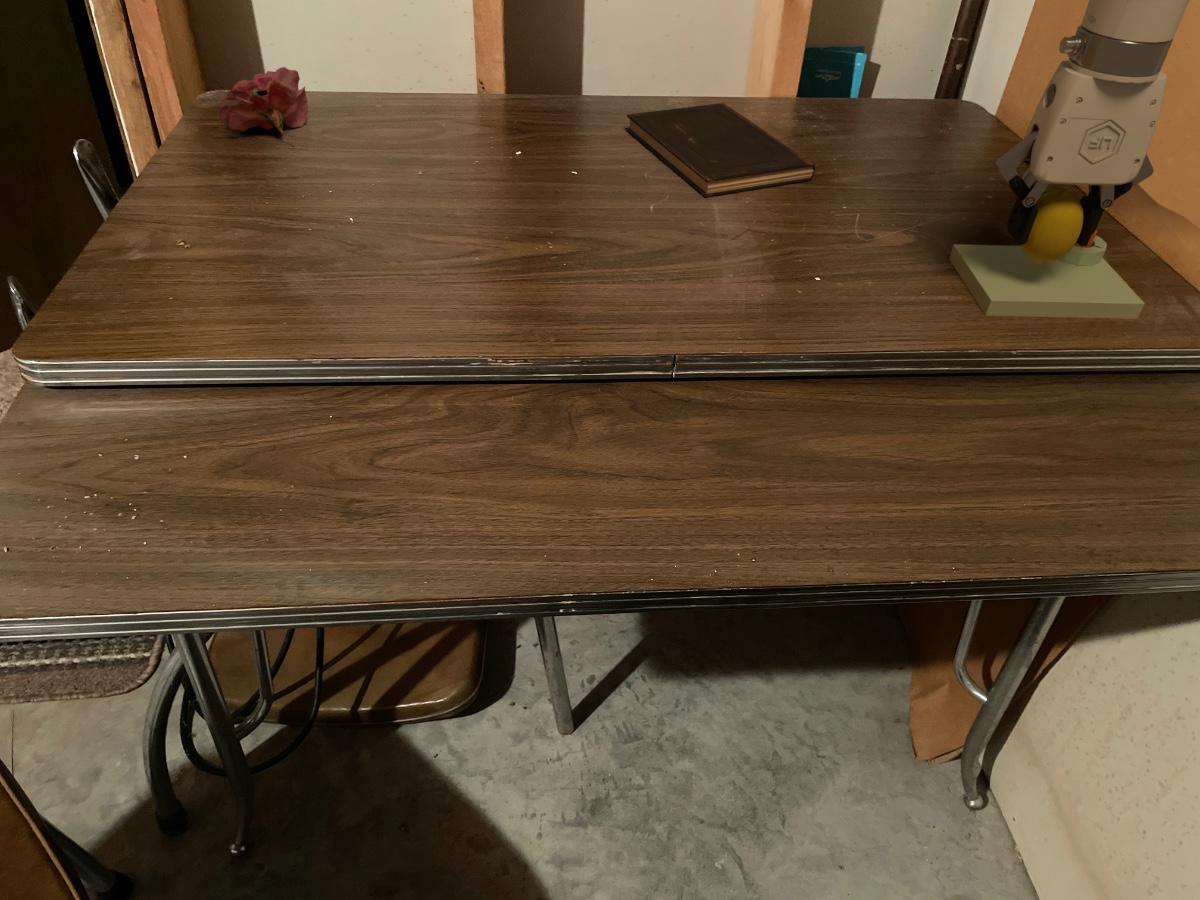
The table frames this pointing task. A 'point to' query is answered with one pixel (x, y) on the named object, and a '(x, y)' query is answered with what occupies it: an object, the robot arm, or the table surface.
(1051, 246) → the lemon
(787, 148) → the hardcover book
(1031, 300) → the scale
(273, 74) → the flower
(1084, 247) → the button
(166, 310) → the table surface
